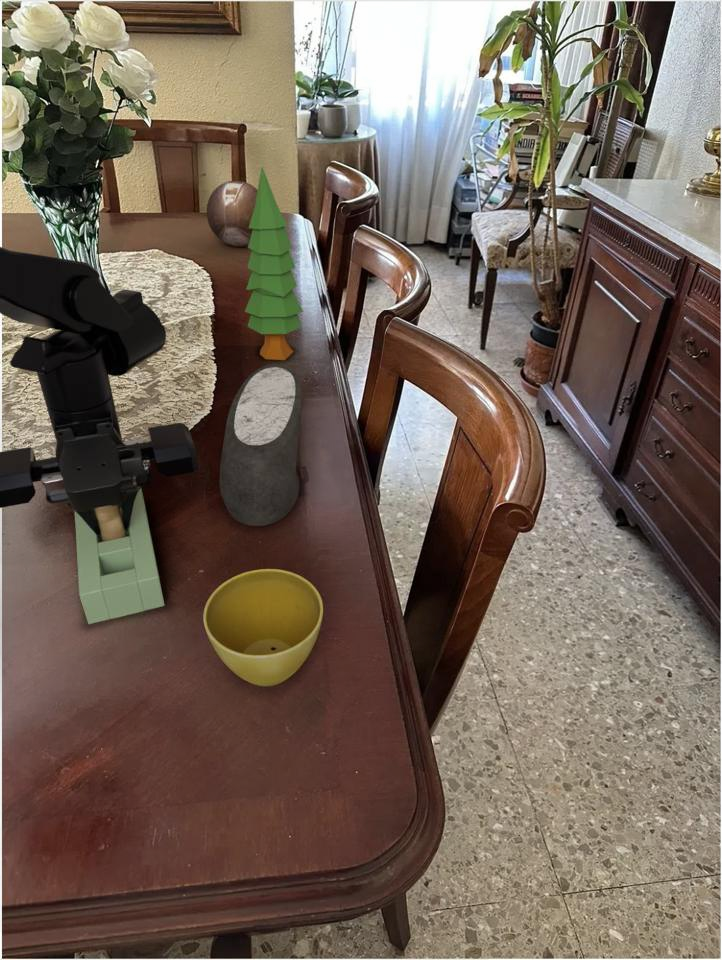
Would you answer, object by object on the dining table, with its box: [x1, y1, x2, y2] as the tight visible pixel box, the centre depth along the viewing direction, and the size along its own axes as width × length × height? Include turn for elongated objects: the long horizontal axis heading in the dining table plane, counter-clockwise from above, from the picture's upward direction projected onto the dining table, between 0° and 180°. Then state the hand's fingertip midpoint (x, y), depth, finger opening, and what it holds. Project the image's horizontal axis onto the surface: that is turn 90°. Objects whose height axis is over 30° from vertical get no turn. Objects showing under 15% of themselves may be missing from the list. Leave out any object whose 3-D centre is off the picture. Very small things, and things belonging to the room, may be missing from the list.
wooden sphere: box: [206, 180, 258, 248], centre depth 162 cm, size 15×15×15 cm
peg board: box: [74, 488, 166, 625], centre depth 70 cm, size 7×18×4 cm, turn 21°
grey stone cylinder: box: [219, 363, 303, 527], centre depth 83 cm, size 25×9×9 cm, turn 179°
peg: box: [94, 505, 127, 542], centre depth 68 cm, size 2×2×9 cm
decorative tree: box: [244, 166, 304, 361], centre depth 107 cm, size 10×9×30 cm
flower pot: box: [202, 568, 324, 687], centre depth 58 cm, size 10×10×7 cm
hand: (112, 529), depth 69 cm, fingers closed on peg, 2 cm apart
